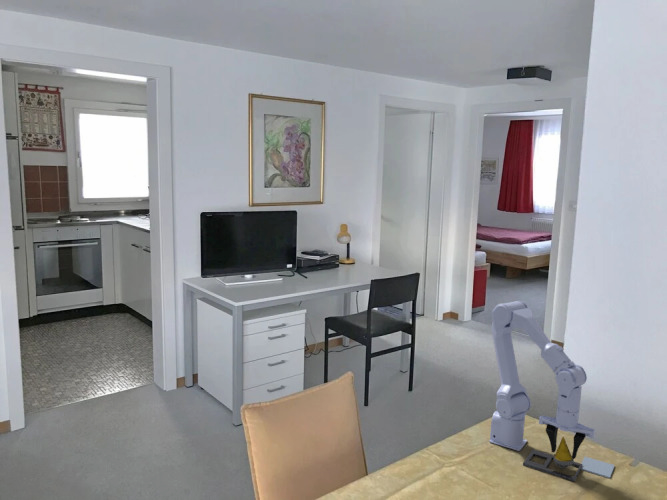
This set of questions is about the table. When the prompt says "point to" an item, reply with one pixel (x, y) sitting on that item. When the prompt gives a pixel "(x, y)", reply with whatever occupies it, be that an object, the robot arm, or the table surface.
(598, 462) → the mat
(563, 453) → the yellow cone
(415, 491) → the table surface
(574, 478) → the rectangular frame
